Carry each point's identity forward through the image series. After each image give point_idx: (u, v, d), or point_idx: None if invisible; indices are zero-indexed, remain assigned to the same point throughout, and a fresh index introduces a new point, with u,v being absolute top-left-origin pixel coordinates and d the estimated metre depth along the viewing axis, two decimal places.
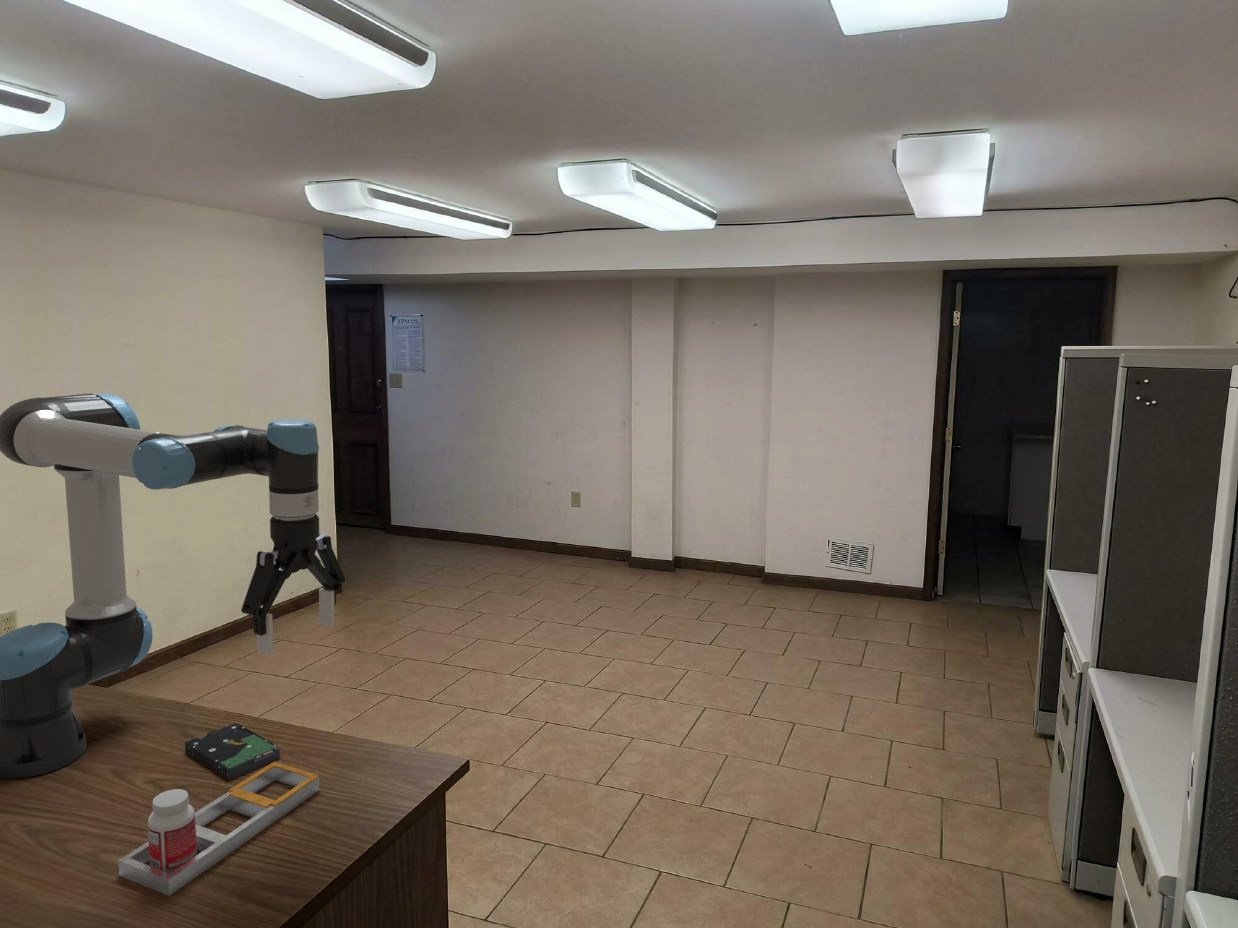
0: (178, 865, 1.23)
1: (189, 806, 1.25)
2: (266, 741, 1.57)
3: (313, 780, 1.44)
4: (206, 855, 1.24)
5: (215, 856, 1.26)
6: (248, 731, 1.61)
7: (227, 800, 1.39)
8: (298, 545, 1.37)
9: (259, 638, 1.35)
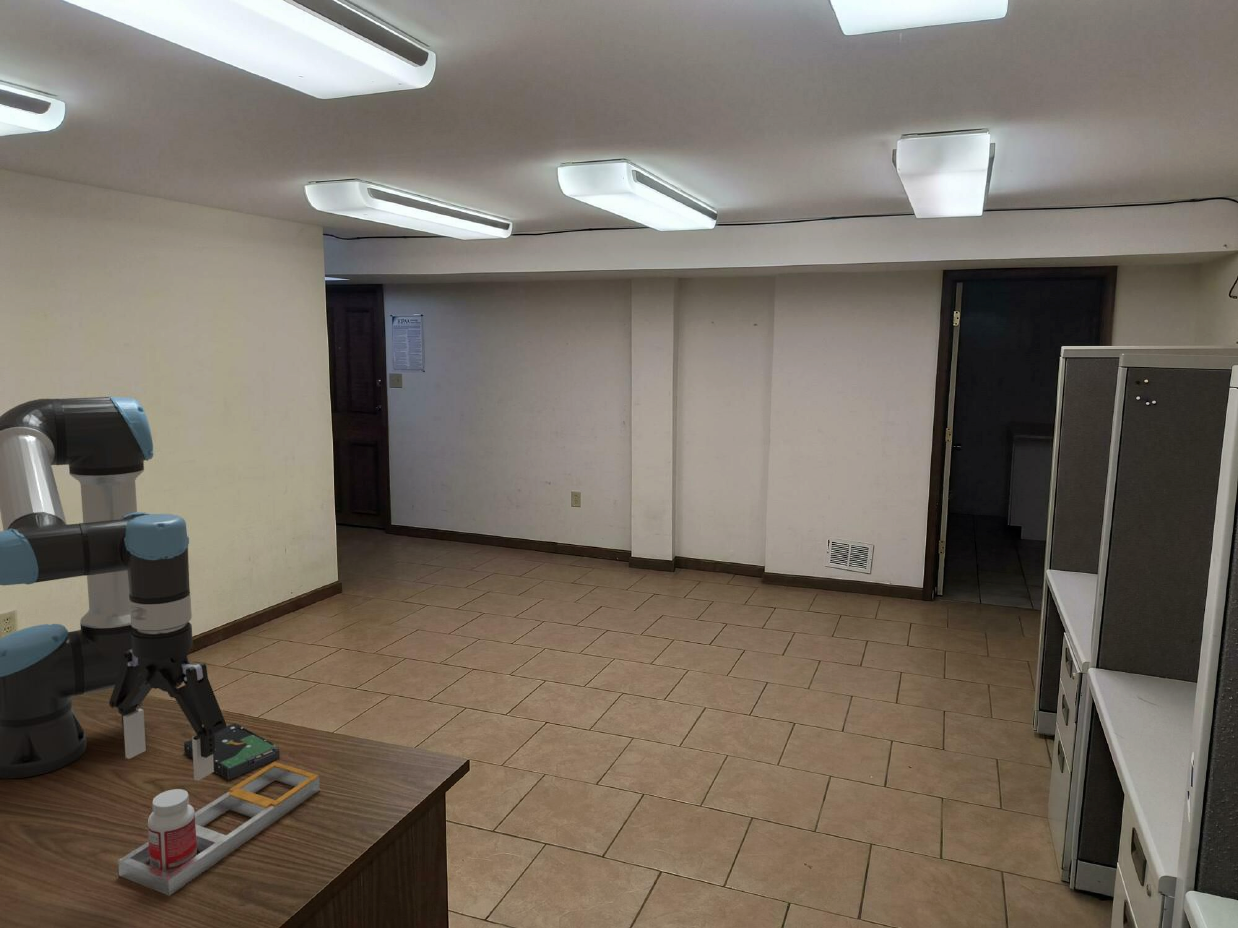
0: (178, 865, 1.23)
1: (189, 806, 1.25)
2: (265, 741, 1.58)
3: (313, 780, 1.44)
4: (206, 855, 1.24)
5: (215, 856, 1.26)
6: (247, 731, 1.61)
7: (227, 800, 1.39)
8: (154, 659, 1.19)
9: None
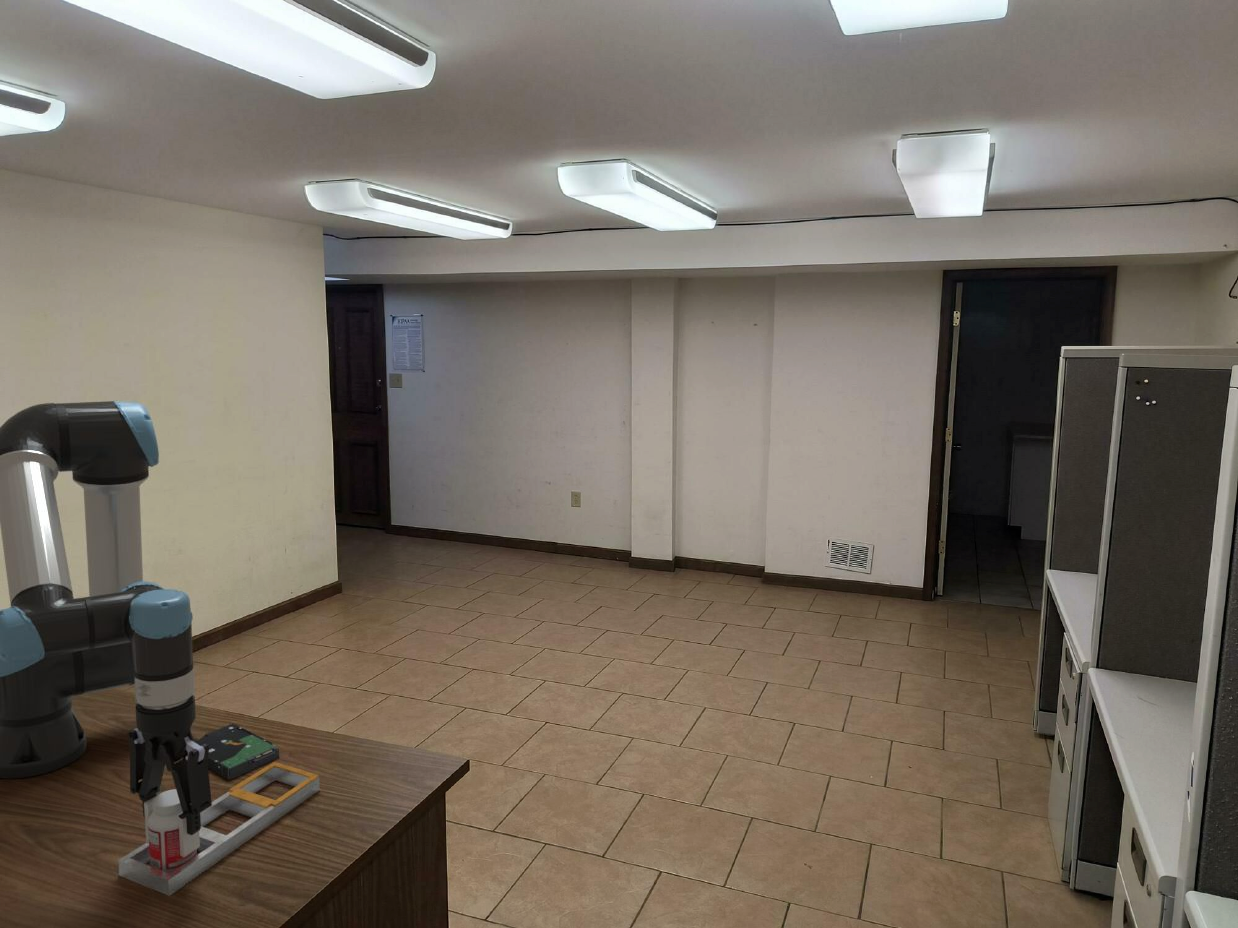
0: (178, 865, 1.23)
1: None
2: (265, 741, 1.58)
3: (313, 780, 1.44)
4: (206, 855, 1.24)
5: (215, 856, 1.26)
6: (246, 731, 1.61)
7: (227, 800, 1.39)
8: None
9: None
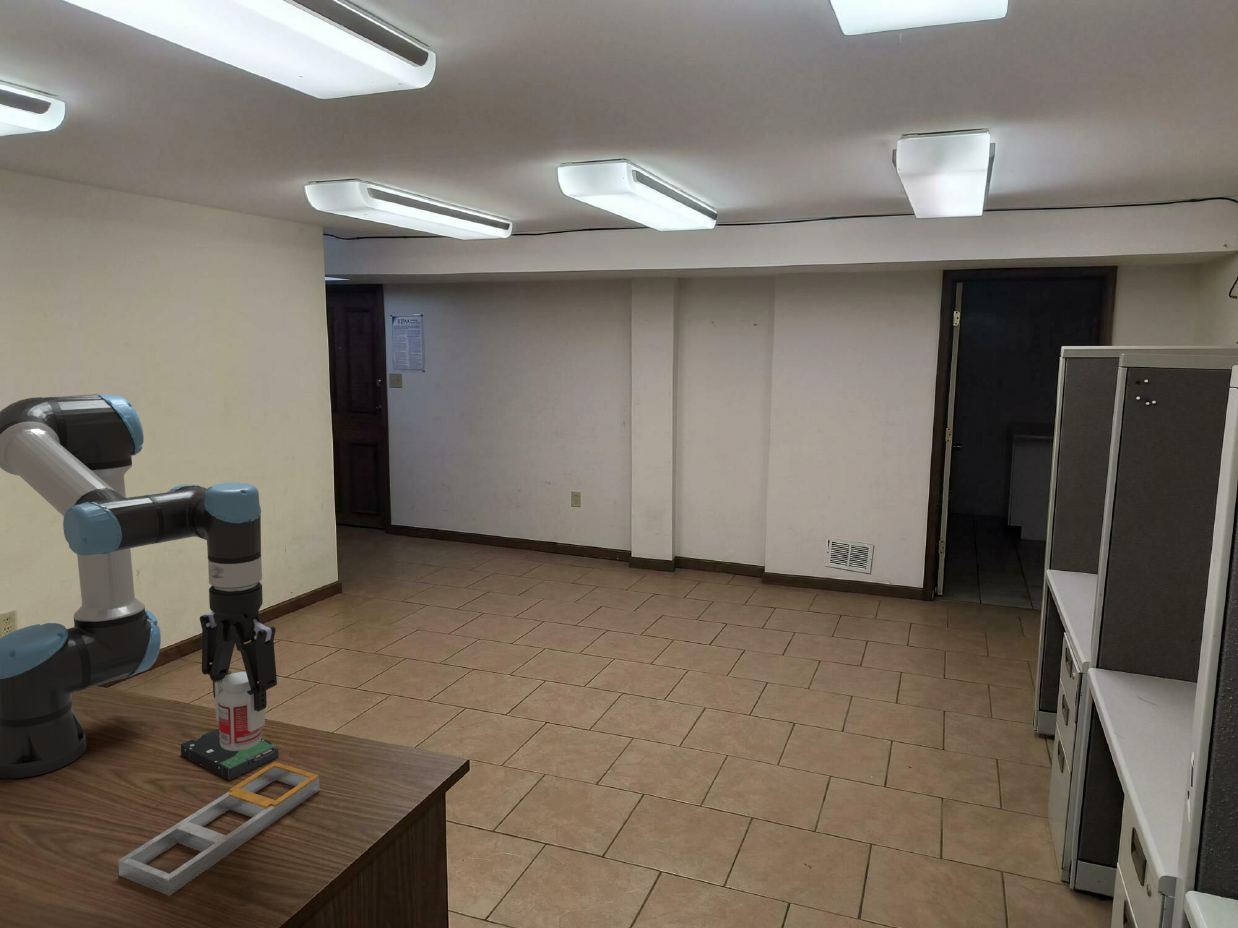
0: (245, 740, 1.32)
1: None
2: (264, 741, 1.58)
3: (313, 780, 1.44)
4: (206, 855, 1.24)
5: (215, 856, 1.26)
6: None
7: (227, 800, 1.39)
8: (228, 615, 1.30)
9: None
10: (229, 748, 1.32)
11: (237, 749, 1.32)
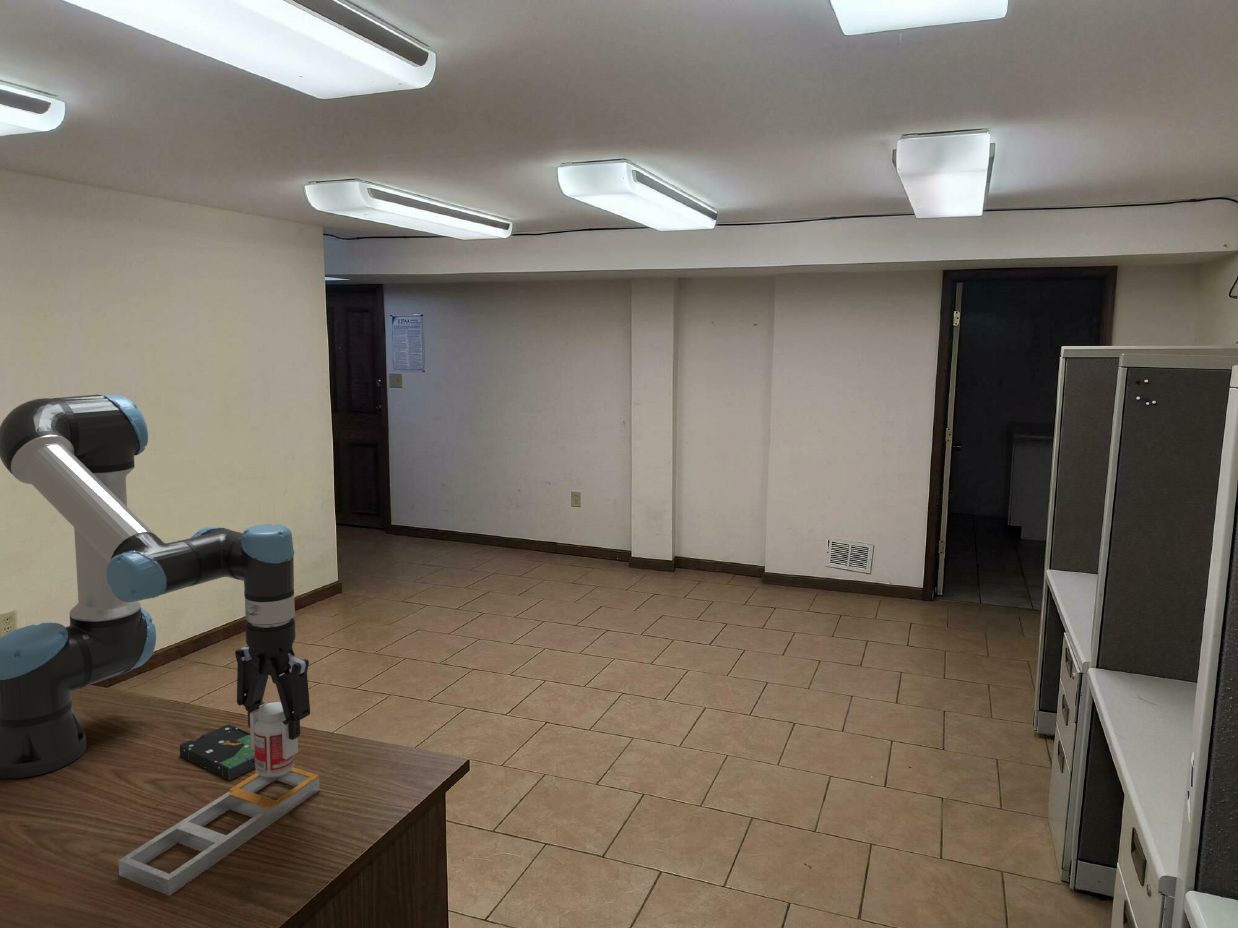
0: (280, 767, 1.40)
1: None
2: None
3: (313, 780, 1.44)
4: (206, 855, 1.24)
5: (215, 856, 1.26)
6: (242, 732, 1.61)
7: (227, 800, 1.39)
8: (264, 649, 1.38)
9: None
10: (265, 775, 1.39)
11: (273, 775, 1.40)
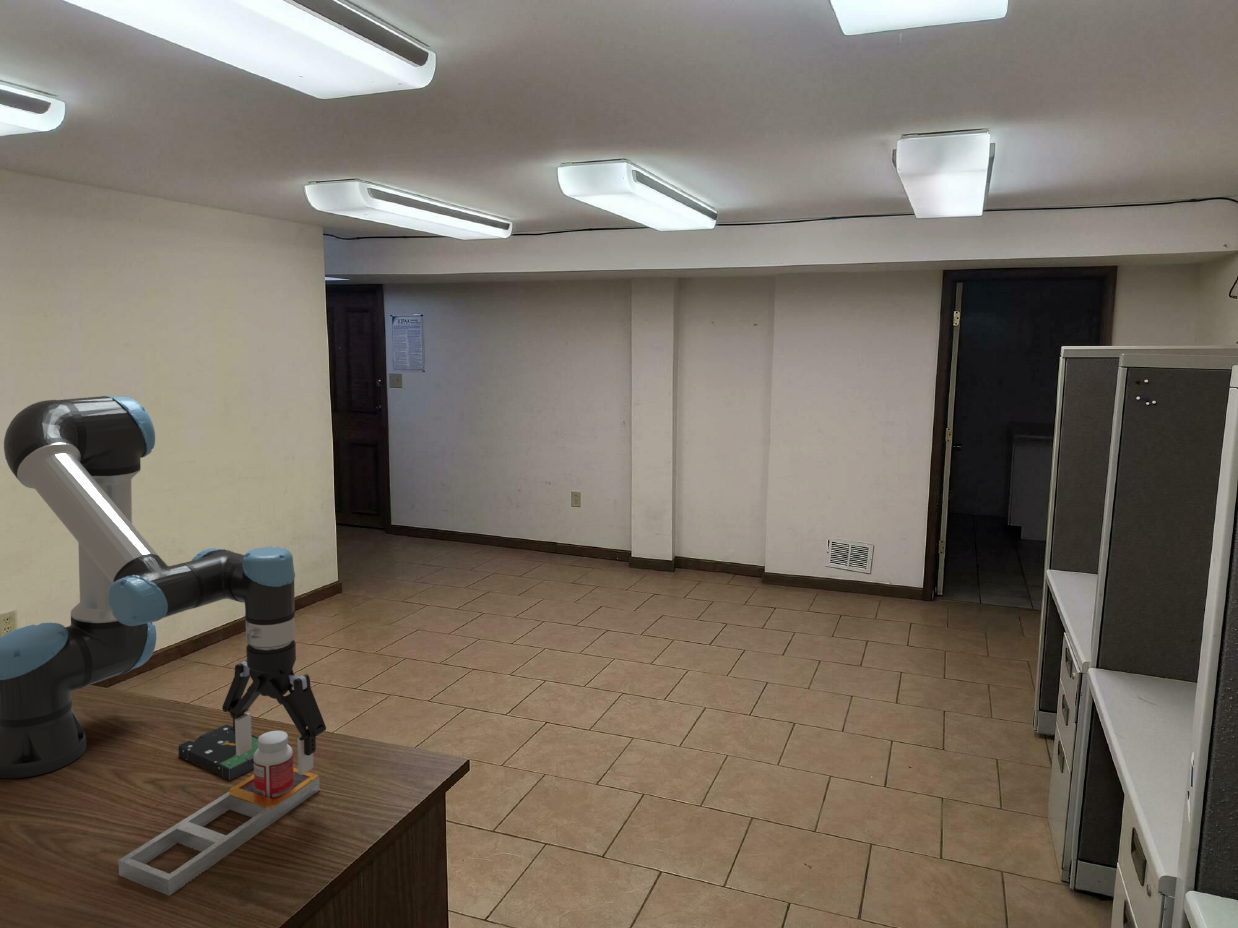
0: (280, 795, 1.41)
1: (288, 745, 1.43)
2: None
3: (313, 780, 1.44)
4: (206, 855, 1.24)
5: (215, 856, 1.26)
6: None
7: (227, 800, 1.39)
8: (264, 671, 1.39)
9: None
10: None
11: None
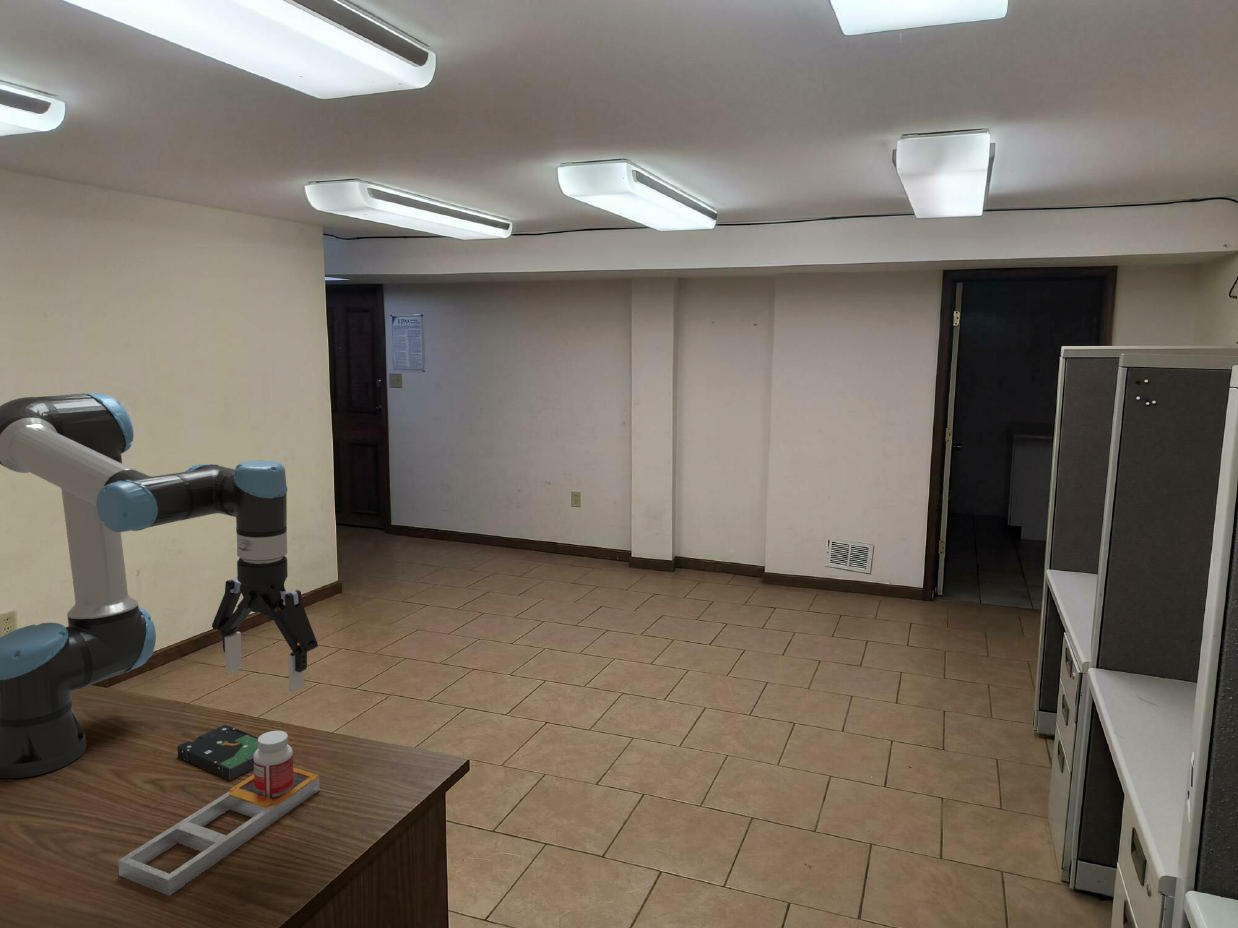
0: (280, 795, 1.41)
1: (288, 745, 1.43)
2: None
3: (313, 780, 1.44)
4: (206, 855, 1.24)
5: (215, 856, 1.26)
6: (240, 732, 1.61)
7: (227, 800, 1.39)
8: (255, 587, 1.36)
9: None
10: None
11: None
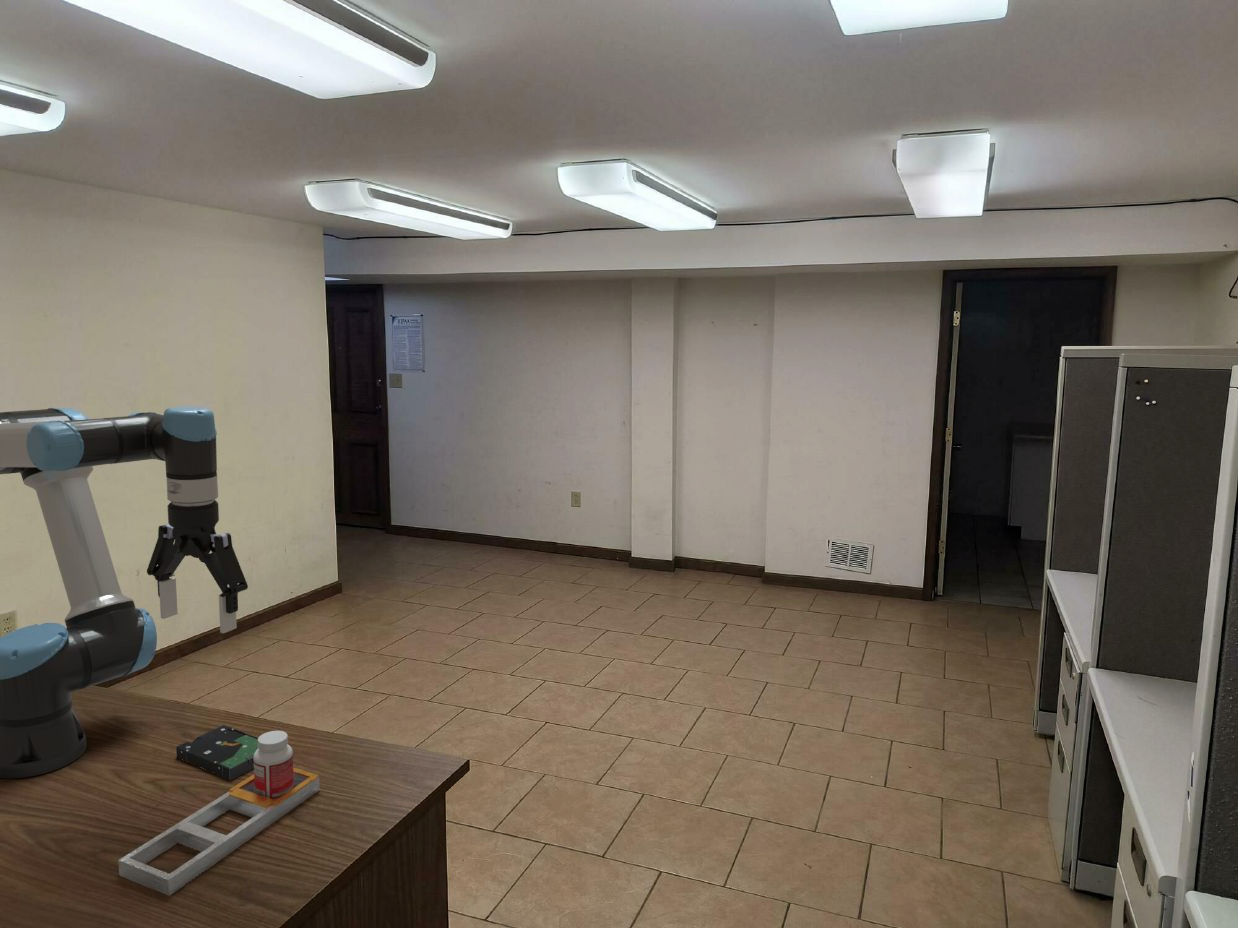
0: (280, 795, 1.41)
1: (288, 745, 1.43)
2: None
3: (313, 780, 1.44)
4: (206, 855, 1.24)
5: (215, 856, 1.26)
6: (239, 732, 1.61)
7: (227, 800, 1.39)
8: (186, 530, 1.39)
9: None
10: None
11: None
